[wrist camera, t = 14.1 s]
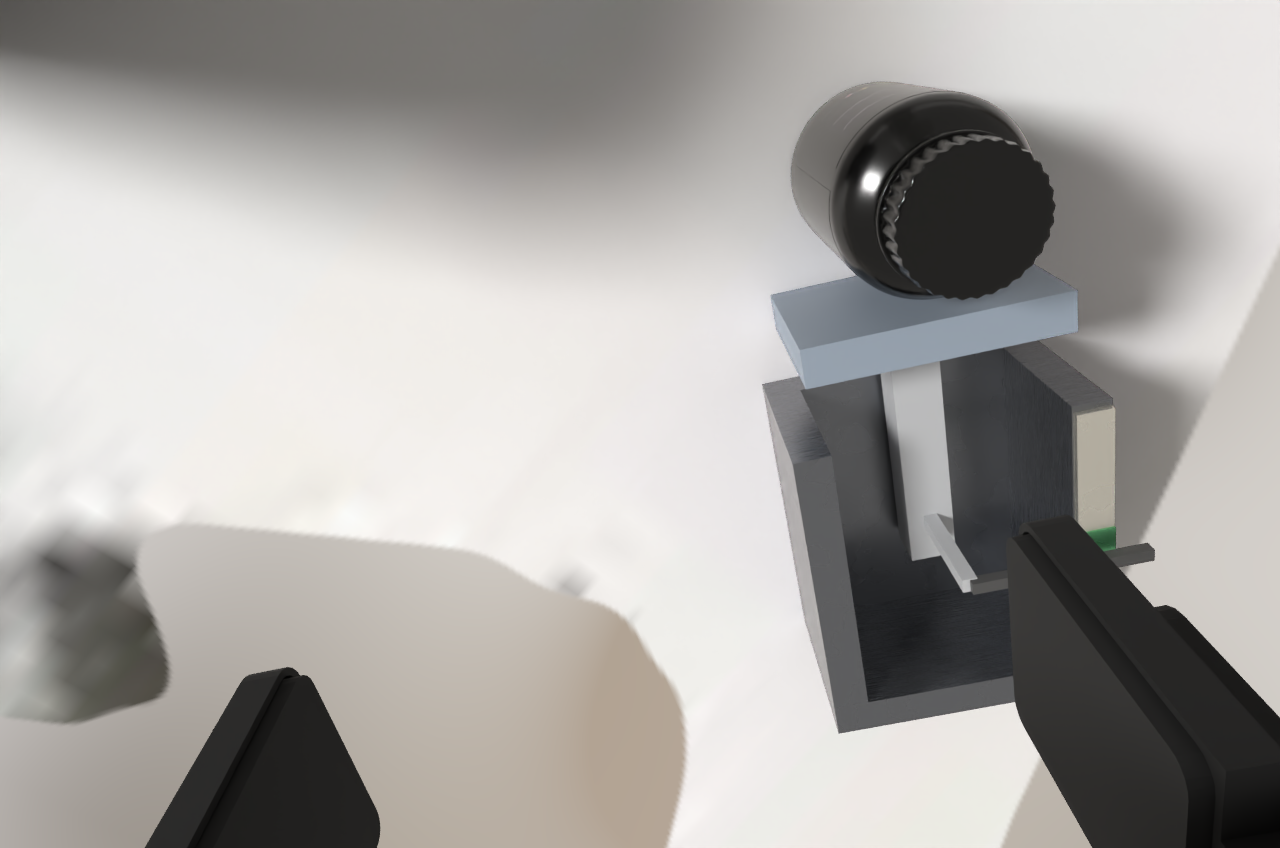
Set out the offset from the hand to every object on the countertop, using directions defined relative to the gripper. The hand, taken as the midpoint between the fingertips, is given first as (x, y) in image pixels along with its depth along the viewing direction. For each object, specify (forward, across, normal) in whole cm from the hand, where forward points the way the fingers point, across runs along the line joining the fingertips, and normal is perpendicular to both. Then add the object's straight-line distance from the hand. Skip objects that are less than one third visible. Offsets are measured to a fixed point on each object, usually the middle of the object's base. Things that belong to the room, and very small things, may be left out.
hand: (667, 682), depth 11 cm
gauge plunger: (+28, -11, +11) cm, 32 cm away
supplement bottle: (+28, -10, 0) cm, 30 cm away
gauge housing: (+28, -10, +16) cm, 34 cm away
